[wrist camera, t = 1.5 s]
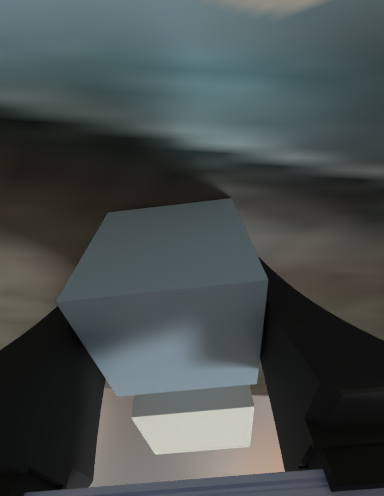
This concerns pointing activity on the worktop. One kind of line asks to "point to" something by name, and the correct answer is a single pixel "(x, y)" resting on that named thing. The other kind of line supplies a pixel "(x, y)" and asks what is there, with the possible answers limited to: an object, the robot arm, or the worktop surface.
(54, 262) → the worktop surface
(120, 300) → the cover
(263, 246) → the worktop surface
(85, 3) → the worktop surface
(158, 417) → the cover
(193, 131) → the worktop surface
